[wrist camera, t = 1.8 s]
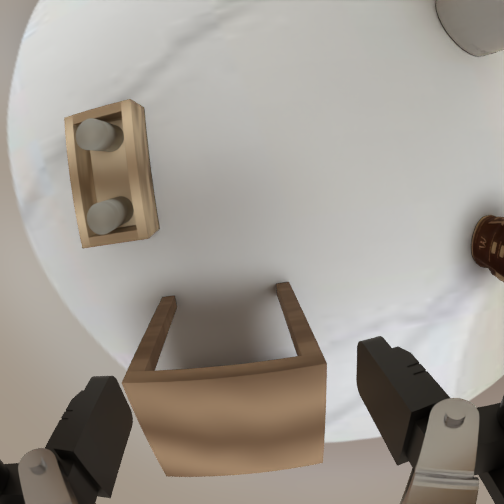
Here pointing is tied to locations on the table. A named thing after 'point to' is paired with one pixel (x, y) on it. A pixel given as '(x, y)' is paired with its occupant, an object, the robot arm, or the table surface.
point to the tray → (111, 174)
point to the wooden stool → (231, 404)
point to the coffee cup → (489, 245)
